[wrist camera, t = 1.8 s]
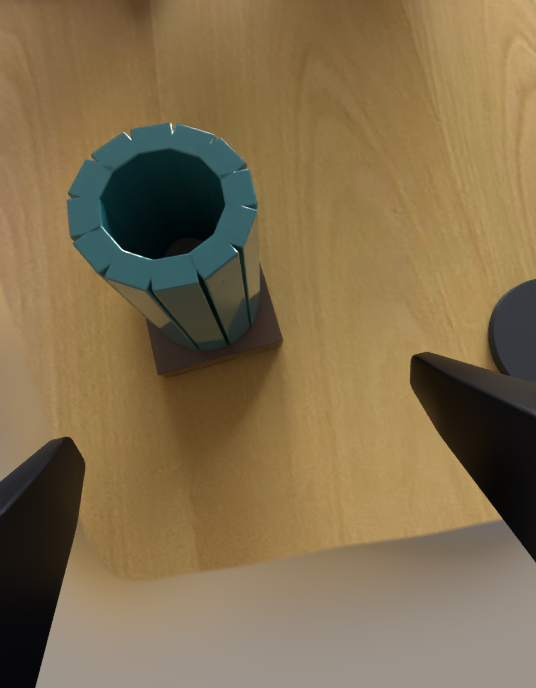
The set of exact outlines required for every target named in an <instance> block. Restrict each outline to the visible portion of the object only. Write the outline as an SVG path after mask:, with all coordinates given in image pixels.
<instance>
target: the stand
mask: <svg viewBox="0 0 536 688" xmlns="http://www.w3.org/2000/svg"><path fill="white" fill-rule="evenodd" d="M202 243H203V241H201V240H199V239H196V238H182V239H179V240H177V241H175V242H174V243H173V244H172V245H171V246H170V247H169V248H168V249H167V251H166V253H165V257H164V258H167V257H172V256H178V255H183V254H189V253H190V252H191V251H193V250H194V249H195V248H196V247H198V246H199V245H200V244H202ZM259 267H260V306H259V308H258V311H257V314H256V317H255V320H254V323H253V325H252V326H251V325H249V327H250V329H249V330H248V331H247V332H246V333H245V334H243V335H242V336H241V337H240V338H239V339H237V340H236V341H235V342H234V343H233V344H230V343H229V342H228V341H227V345H228V346H227V347H224V348H218V349H213V350H208V351H202V350H201V349H200V350H199V351H196V350H193V349H190V348H187V347H184V346H181V345H178V344H176V343H174V342H173V341H171V340H170V339H169V338H168V337H167V336H165V335H164V334H163V333H162V332H161V331H160V330H159V329H158V328H157V327H156V326H154V325H153V324H152V323H151V322H150V321H149V320H148V319H147V318H146V321H147V326H148V330H149V335H150V340H151V345H152V349H153V354H154V359H155V363H156V368H157V373H158V375H160V376H162V377H164V378H166V377H169V376H173V375H177V374H180V373H184V372H188V371H191V370H195V369H199V368H202V367H206V366H210V365H213V364H217V363H221V362H225V361H228V360H232V359H236V358H239V357H243V356H247V355H250V354H254V353H258V352H261V351H265V350H269V349H272V348H276V347H280V346H282V342H283V338H282V335H281V332H280V328H279V325H278V322H277V318H276V315H275V312H274V308H273V305H272V302H271V298H270V295H269V292H268V288H267V285H266V282H265V278H264V275H263V271H262V268H261V265H260V261H259Z"/></svg>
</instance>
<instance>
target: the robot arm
mask: <svg viewBox="0 0 536 688" xmlns="http://www.w3.org/2000/svg"><path fill="white" fill-rule="evenodd" d="M410 384H411V387H412V389H413V391H414V393H415V395H416V396H417V398H418V400H419V401H420V403H421V405H422V406H423V408H424V410H425V411H426V413H427V415H428V416H429V418H430V420H431V421H432V423H433V425H434V427H435V428H436V430H437V431H438V433H439V434H440V436H441V437H442V439H443V440H444V441H445V443H446V444H447V445H448V447H449V448H450V449H451V451H452V452H453V453H454V455H455V456H456V457H457V459H458V460H459V461H460V463H461V464H462V465H463V467H464V468H465V469H466V471H467V472H468V473H469V475H470V476H471V477H472V479H473V480H474V481H475V483H476V484H477V485H478V487H479V488H480V489H481V490H482V492H483V493H484V494H485V496H486V497H487V498H488V500H489V501H490V502H491V504H492V505H493V506H494V508H495V509H496V510H497V512H498V513H499V514H500V516H501V517H502V518H503V520H504V521H505V522H506V524H507V525H508V526H509V528H510V529H511V530H512V532H513V533H514V534H515V536H516V537H517V538H518V539H519V541H520V542H521V543H522V545H523V546H524V547H525V549H526V550H527V551H528V553H529V554H530V555H531V557H532V558H533V559H534V561H535V562H536V384H535V383H532V382H528V381H525V380H522V379H518V378H515V377H511V376H508V375H505V374H501V373H498V372H495V371H491V370H488V369H484V368H481V367H478V366H474V365H471V364H468V363H464V362H461V361H457V360H454V359H451V358H447V357H444V356H441V355H437V354H434V353H430V352H423V353H419V354H415V355H413V356H412V358H411V365H410ZM84 474H85V461H84V458H83V457H82V455H81V453H80V452H79V450H78V448H77V447H76V445H75V443H74V441H73V440H72V439H71V438H70V437H62V438H58V439H54V440H51V441H49V442H48V443H47V444H46V445H44V446H43V447H42V448H41V449H39V450H38V451H37V452H36V453H35V454H33V455H32V456H31V457H30V458H28V459H27V460H26V461H25V462H24V463H22V464H21V465H20V466H19V467H18V468H16V469H15V470H14V471H13V472H11V473H10V474H9V475H8V476H7V477H5V478H4V479H3V480H2V481H0V688H35V687H36V683H37V679H38V675H39V671H40V667H41V663H42V660H43V656H44V652H45V648H46V644H47V640H48V636H49V632H50V628H51V625H52V621H53V617H54V613H55V609H56V605H57V601H58V598H59V594H60V589H61V586H62V582H63V578H64V574H65V570H66V567H67V563H68V559H69V555H70V551H71V547H72V543H73V539H74V535H75V531H76V527H77V521H78V516H79V509H80V502H81V495H82V488H83V481H84Z"/></svg>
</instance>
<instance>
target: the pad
mask: <svg viewBox="0 0 536 688" xmlns="http://www.w3.org/2000/svg"><path fill="white" fill-rule="evenodd" d="M489 344H490V349H491V352H492V356H493V358H494V360H495V363H496V365H497V367H498V368H499V370H500V372H501V373H502V374H505V375H508V376H511V377H515V378H518V379H522V380H525V381H528V382H532V383H535V384H536V279H534V280H530V281H527V282H524V283H522V284H520V285H518V286H516V287H515V288H513V289H511V290H510V291H509V292H507V293H506V294H505V295H504V296H503V297H502V298H501V299H500V300H499V302H498V303H497V305H496V306H495V308H494V310H493V313H492V315H491V319H490V322H489Z"/></svg>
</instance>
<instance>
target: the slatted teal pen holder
mask: <svg viewBox="0 0 536 688" xmlns="http://www.w3.org/2000/svg"><path fill="white" fill-rule="evenodd" d="M130 134H131V138H130V137H129V136H128V135H127V134H126V133H125V132H123V133H121V134H120V135H118V136H117V137H115V138H114V139H112V140H111V141H109V142H108V143H106V144H105V145H103V146H102V147H100V148H99V149H97V150H96V151H94V152H93V153H92V154H91V157H92V158H93V160H94V161H93V160H89V159H85V161H84V163H83V165H82V167H81V169H80V171H79V173H78V174H77V176H76V178H75V180H74V182H73V184H72V186H71V188H70V189H69V191H68V194H69V196H70V197H71V199H67V209H68V221H69V232H70V238H71V239H72V240H73V241H74V242H73V245H74V246H75V248H76V249H77V250H78V251H79V252H80V254H81V255H82V256H83V257H84V258H85V260H86V261H87V262H88V263H89V264H90V266H91V267H92V268H93V269H94V270H95V271H96V273H97V274H98V275H99V276H100V277H102V278H103V279H104V280H105V281H106V282H107V283H108V284H109V285H110V286H111V287H113V288H114V289H115V290H116V291H117V292H118V293H119V294H120V295H121V296H122V297H124V298H125V299H126V300H127V301H128V302H129V303H130V304H131V305H132V306H133V307H135V308H136V309H137V310H138V311H139V312H140V313H141V314H142V315H143V316H145V317H146V318H147V319H148V320H149V321H150V322H151V323H152V324H153V325H154V326H156V327H157V328H158V329H159V330H160V331H161V332H162V333H163V334H164V335H165V336H167V337H168V338H169V339H170V340H171V341H173V342H174V343H176V344H178V345H181V346H184V347H187V348H190V349H193V350H196V351H199V350H200V349H201V350H202V351H208V350H213V349H218V348H224V347H227V346H228V345H227V341H228V342H229V343H230V344H233V343H234V342H235V341H236V340H237V339H239V338H240V337H241V336H242V335H243V334H245V333H246V332H247V331H248V330H249V329H250V327H249V325H251V326H252V325H253V323H254V320H255V317H256V314H257V311H258V308H259V306H260V267H259V228H258V202H257V198H256V193H255V189H254V185H253V180H252V176H251V171H250V170H249V169H247V163H246V162H245V161H244V160H243V159H242V158H241V157H240V156H239V155H238V154H237V153H236V152H235V151H234V150H233V149H232V148H231V147H230V146H229V145H228V144H227V143H226V142H225V141H224V140H223V139H222V138H220V137H219V138H218V139H215V135H214V134H212V133H209V132H206V131H202V130H199V129H195V128H192V127H188V126H185V125H181V124H176V126H175V128H174V130H173V128H172V124H171V123H165V124H158V125H152V126H146V127H139V128H133V129H130ZM182 238H196V239H199V240H201V241H203V243H202V244H200V245H199V246H198V247H196V248H195V249H194V250H193V251H191V252H190V253H189V254H183V255H178V256H172V257H167V258H164V257H165V253H166V251H167V249H168V248H169V247H170V246H171V245H172V244H173V243H174V242H175V241H177V240H179V239H182Z"/></svg>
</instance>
